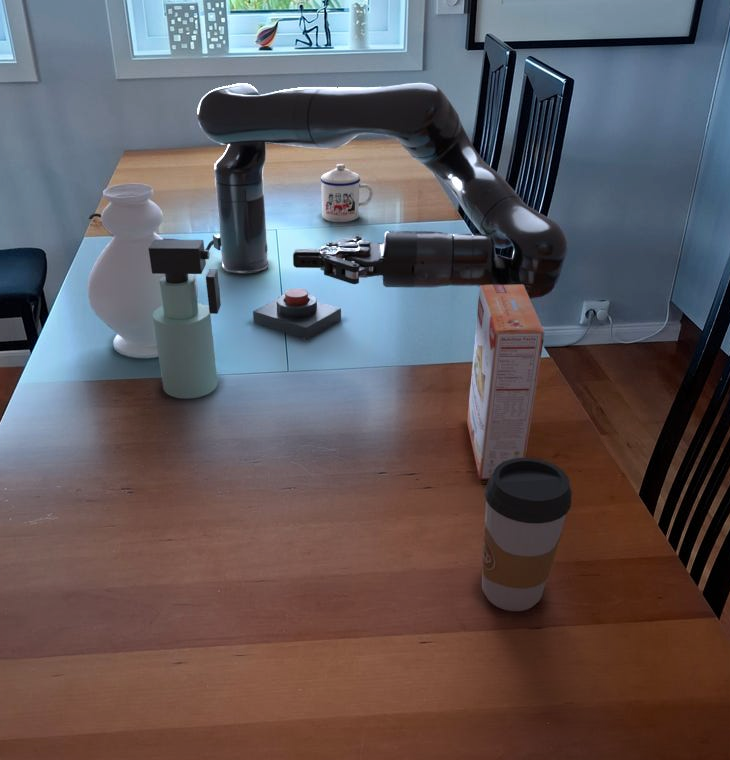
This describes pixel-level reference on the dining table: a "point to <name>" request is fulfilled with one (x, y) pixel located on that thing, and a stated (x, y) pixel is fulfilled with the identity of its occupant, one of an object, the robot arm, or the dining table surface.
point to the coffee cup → (522, 530)
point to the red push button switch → (297, 316)
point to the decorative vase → (128, 270)
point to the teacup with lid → (342, 195)
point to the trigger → (213, 291)
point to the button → (296, 296)
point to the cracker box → (503, 375)
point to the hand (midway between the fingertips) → (293, 258)
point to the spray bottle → (183, 320)
